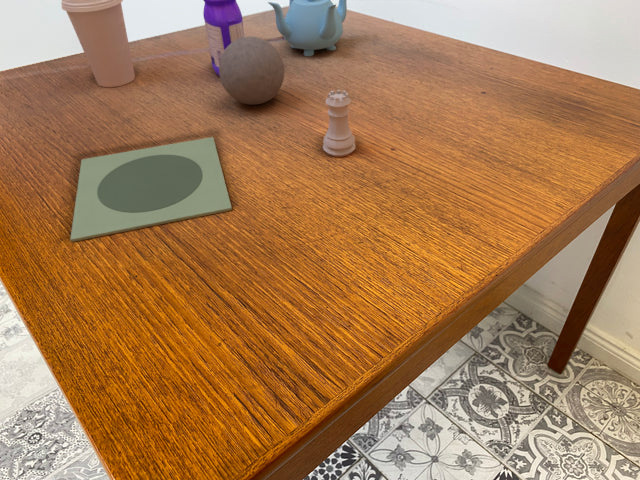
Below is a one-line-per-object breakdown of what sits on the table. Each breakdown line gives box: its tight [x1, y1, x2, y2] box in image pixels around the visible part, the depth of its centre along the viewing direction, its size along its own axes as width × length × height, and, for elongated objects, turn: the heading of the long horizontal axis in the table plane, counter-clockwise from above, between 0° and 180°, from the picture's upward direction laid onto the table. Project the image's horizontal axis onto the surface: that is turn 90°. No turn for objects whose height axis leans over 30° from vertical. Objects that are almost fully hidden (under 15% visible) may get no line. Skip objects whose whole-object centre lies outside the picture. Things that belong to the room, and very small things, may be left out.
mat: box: [69, 136, 233, 243], centre depth 66 cm, size 18×18×1 cm
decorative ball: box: [218, 36, 285, 106], centre depth 80 cm, size 10×10×10 cm
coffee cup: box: [60, 0, 136, 88], centre depth 88 cm, size 10×10×15 cm
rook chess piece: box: [322, 89, 356, 158], centre depth 68 cm, size 4×4×8 cm
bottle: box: [202, 0, 245, 77], centre depth 87 cm, size 7×6×17 cm
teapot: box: [267, 0, 348, 57], centre depth 97 cm, size 13×13×10 cm
